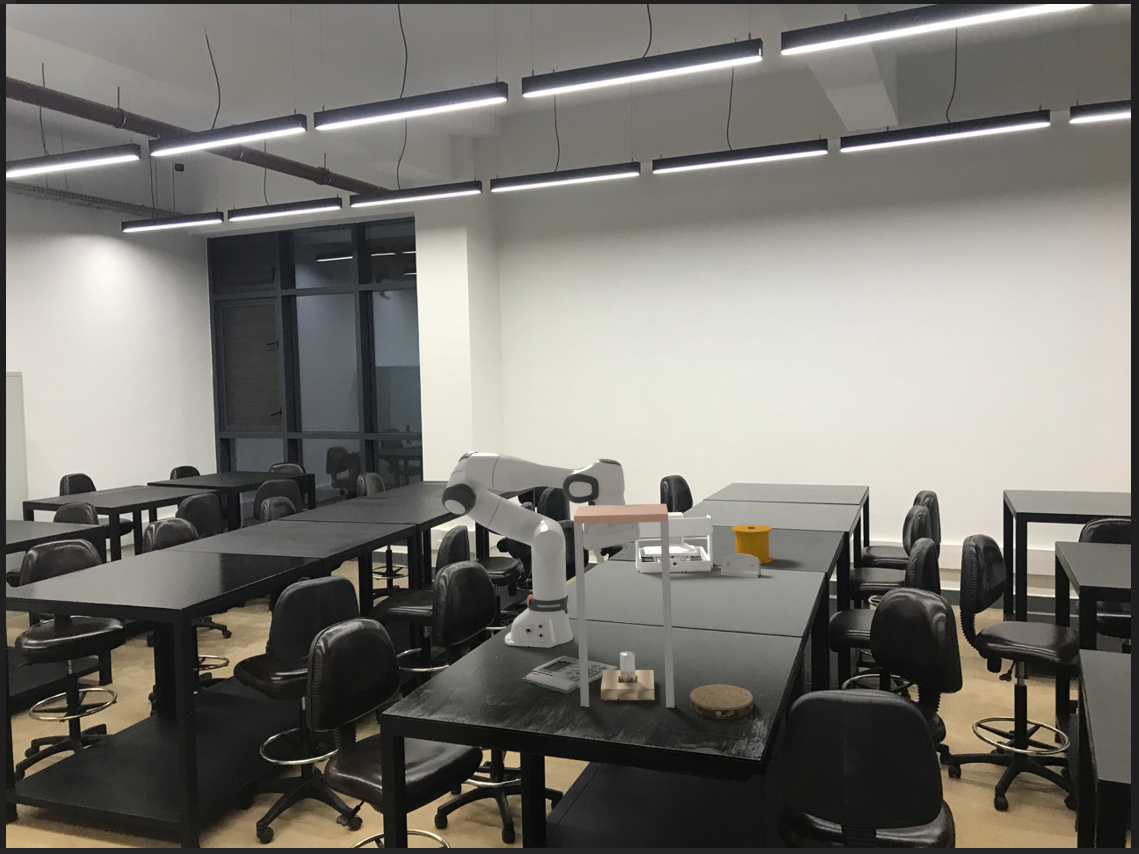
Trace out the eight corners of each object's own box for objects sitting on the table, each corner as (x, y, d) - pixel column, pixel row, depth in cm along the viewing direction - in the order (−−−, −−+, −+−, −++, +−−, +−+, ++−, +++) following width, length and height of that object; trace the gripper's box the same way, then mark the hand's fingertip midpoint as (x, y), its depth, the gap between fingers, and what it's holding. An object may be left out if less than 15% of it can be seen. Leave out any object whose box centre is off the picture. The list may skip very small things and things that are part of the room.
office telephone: (567, 688, 220) (513, 673, 233) (567, 697, 220) (513, 682, 233) (617, 662, 238) (565, 650, 251) (618, 671, 238) (565, 658, 251)
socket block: (601, 700, 216) (600, 688, 216) (603, 680, 230) (603, 670, 230) (654, 699, 215) (654, 688, 214) (653, 680, 228) (653, 669, 228)
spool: (724, 559, 378) (723, 526, 377) (755, 554, 385) (755, 522, 384) (748, 566, 361) (747, 532, 361) (780, 561, 369) (780, 528, 368)
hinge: (719, 574, 347) (721, 551, 350) (722, 576, 351) (724, 553, 354) (758, 577, 340) (759, 553, 342) (761, 579, 344) (762, 555, 346)
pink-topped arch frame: (581, 707, 211) (573, 516, 209) (585, 683, 228) (578, 505, 225) (674, 707, 209) (668, 513, 206) (671, 683, 226) (666, 503, 223)
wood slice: (764, 704, 210) (764, 693, 209) (732, 725, 198) (732, 713, 198) (711, 690, 220) (710, 679, 220) (677, 709, 208) (677, 698, 208)
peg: (620, 692, 220) (619, 656, 220) (621, 687, 224) (619, 651, 224) (635, 692, 220) (634, 656, 219) (635, 687, 224) (634, 651, 223)
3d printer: (708, 555, 387) (704, 502, 386) (717, 570, 356) (713, 513, 354) (634, 560, 389) (630, 508, 388) (637, 576, 357) (632, 519, 356)
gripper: (591, 519, 232) (593, 568, 233) (642, 510, 245) (644, 556, 246) (576, 517, 237) (578, 564, 237) (627, 508, 250) (629, 553, 250)
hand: (612, 560), depth 242 cm, fingers open, 8 cm apart
